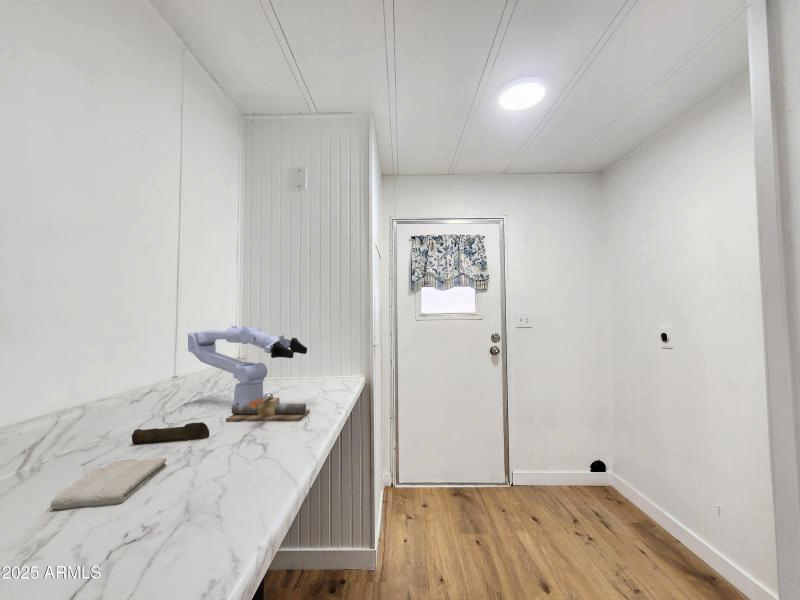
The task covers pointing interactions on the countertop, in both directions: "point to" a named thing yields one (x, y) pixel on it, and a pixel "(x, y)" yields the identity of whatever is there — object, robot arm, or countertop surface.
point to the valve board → (267, 418)
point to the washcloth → (109, 484)
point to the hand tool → (172, 433)
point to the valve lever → (259, 401)
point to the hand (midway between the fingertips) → (299, 353)
